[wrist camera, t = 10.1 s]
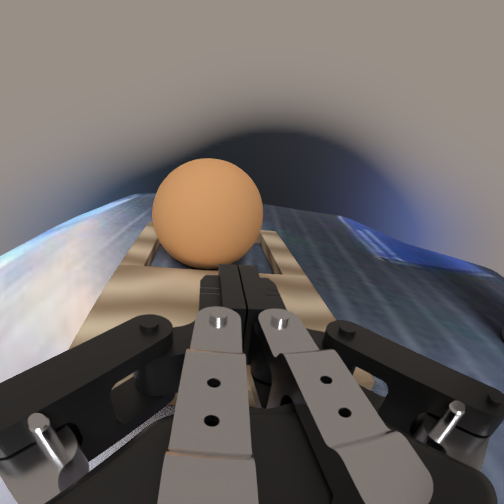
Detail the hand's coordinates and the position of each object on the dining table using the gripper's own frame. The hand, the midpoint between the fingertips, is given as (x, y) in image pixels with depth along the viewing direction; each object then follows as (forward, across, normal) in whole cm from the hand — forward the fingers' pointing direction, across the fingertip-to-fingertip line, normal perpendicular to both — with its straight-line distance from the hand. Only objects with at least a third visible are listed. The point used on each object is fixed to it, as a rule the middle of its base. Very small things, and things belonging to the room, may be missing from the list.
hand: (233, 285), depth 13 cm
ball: (+21, +1, +2) cm, 22 cm away
